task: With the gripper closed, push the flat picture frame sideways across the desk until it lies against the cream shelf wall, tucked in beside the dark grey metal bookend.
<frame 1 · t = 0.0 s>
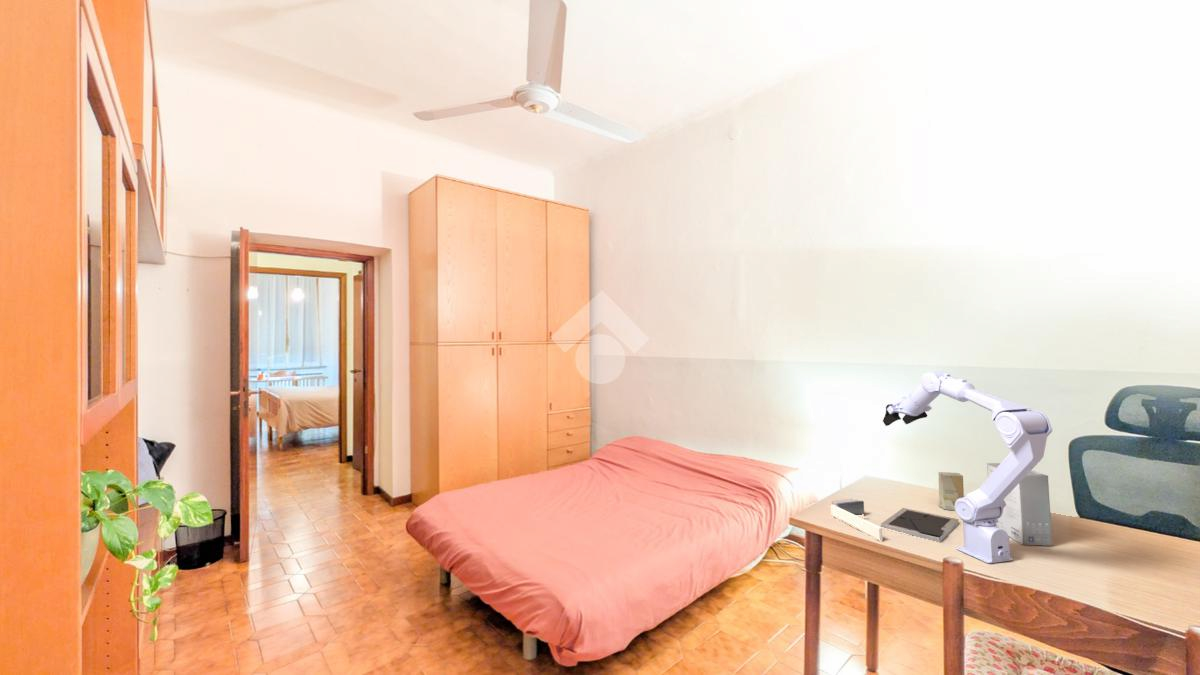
hand: (894, 422, 158), 32 cm above the table, tool tilted 50°, fingers open, 7 cm apart
bookend: (850, 517, 160), on the table
picture frame: (920, 528, 150), on the table
shelf wall: (855, 528, 151), on the table
hard drive box: (1019, 536, 140), on the table
books: (845, 515, 162), on the table
skincare box: (952, 509, 164), on the table
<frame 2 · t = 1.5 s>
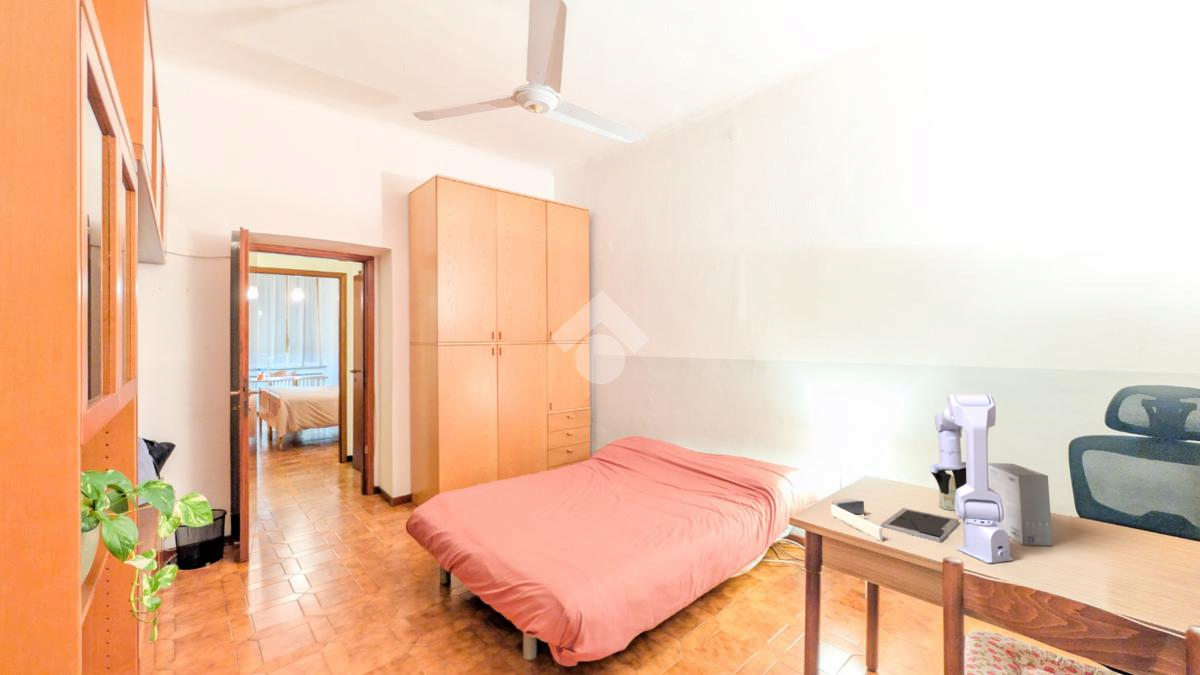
hand: (952, 492, 153), 9 cm above the table, tool pointing down, fingers open, 5 cm apart
nothing on the table moved.
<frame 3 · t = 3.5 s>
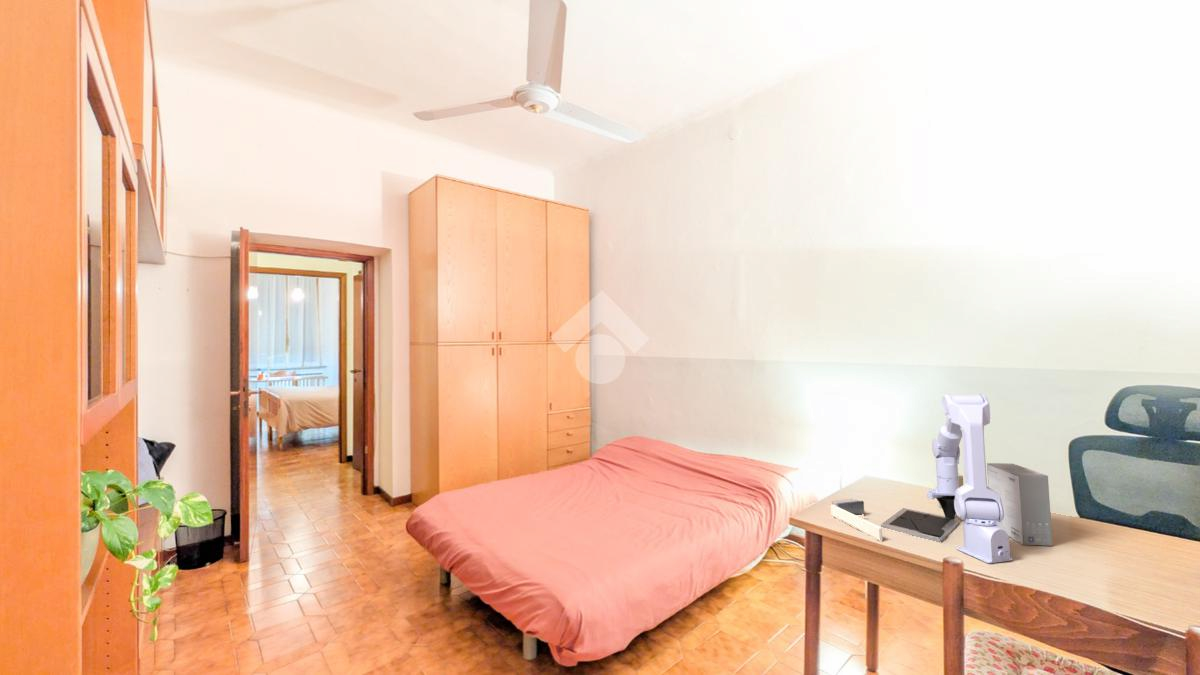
hand: (949, 518, 152), 1 cm above the table, tool pointing down, fingers closed
picture frame: (920, 528, 150), on the table, touching gripper
everything else where it was.
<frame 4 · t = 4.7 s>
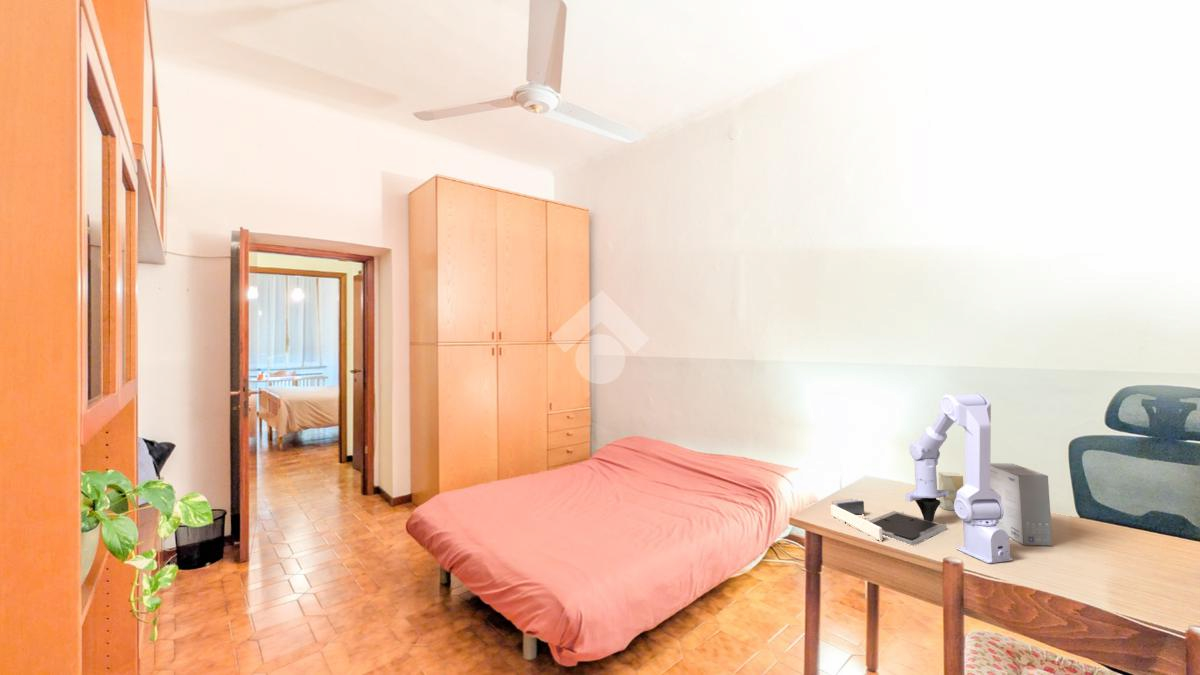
hand: (928, 521, 151), 1 cm above the table, tool pointing down, fingers closed
picture frame: (902, 531, 148), on the table, touching gripper
everything else where it was.
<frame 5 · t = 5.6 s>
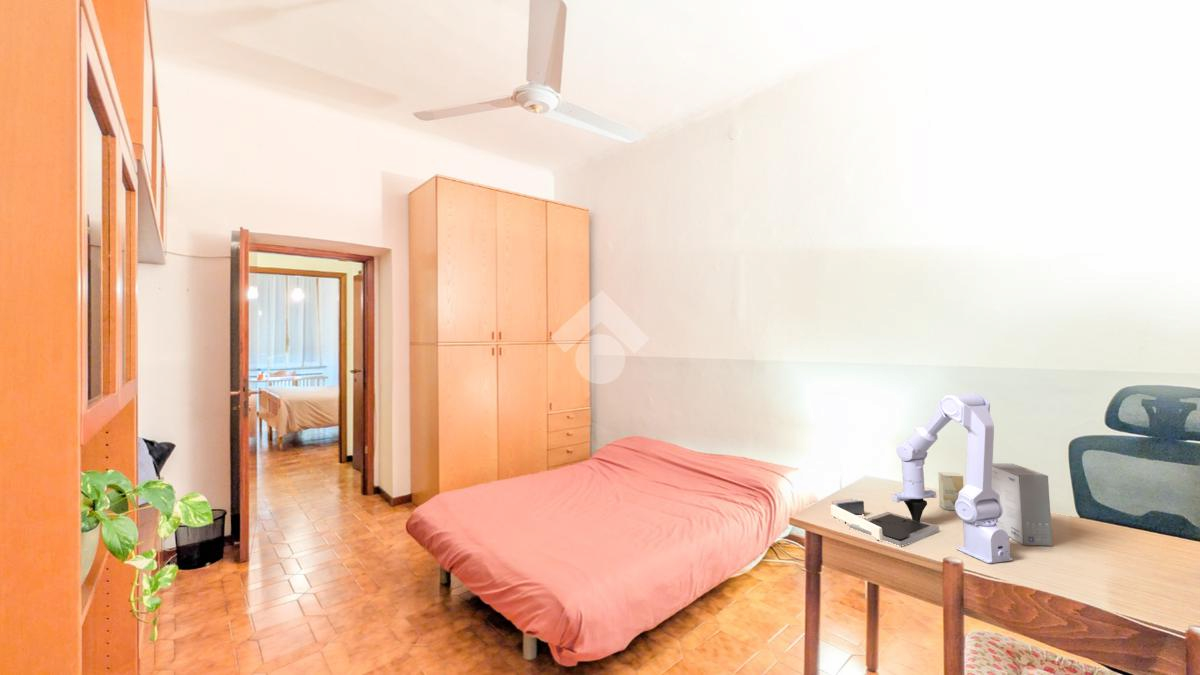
hand: (915, 522, 150), 1 cm above the table, tool pointing down, fingers closed, pressing on picture frame
picture frame: (893, 532, 147), on the table, touching gripper, shelf wall
everything else where it was.
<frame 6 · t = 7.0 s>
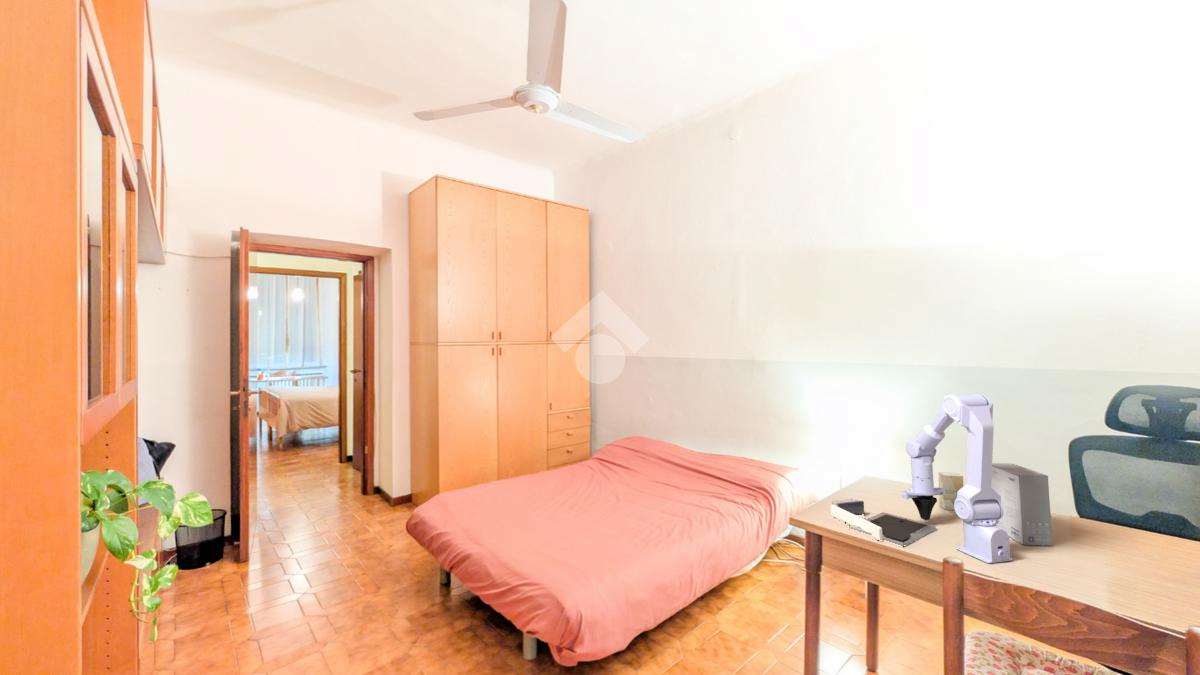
hand: (925, 519, 151), 2 cm above the table, tool pointing down, fingers closed
picture frame: (892, 533, 148), on the table
everything else where it was.
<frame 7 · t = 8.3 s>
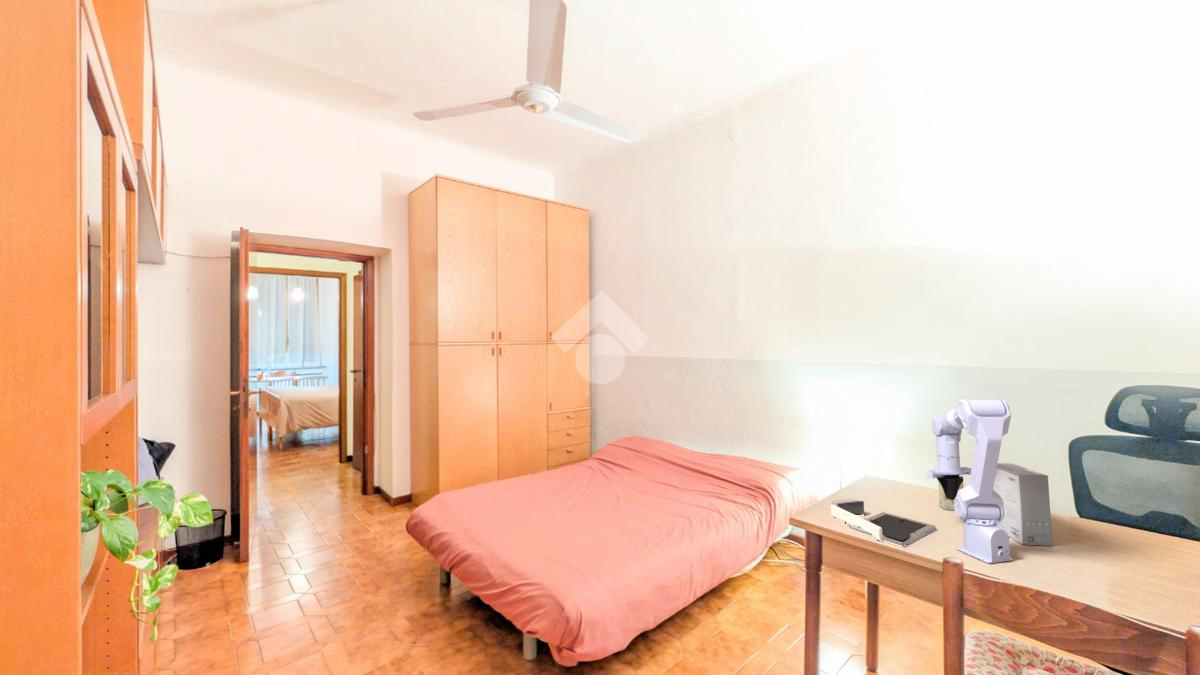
hand: (950, 499, 147), 9 cm above the table, tool pointing down, fingers closed
nothing on the table moved.
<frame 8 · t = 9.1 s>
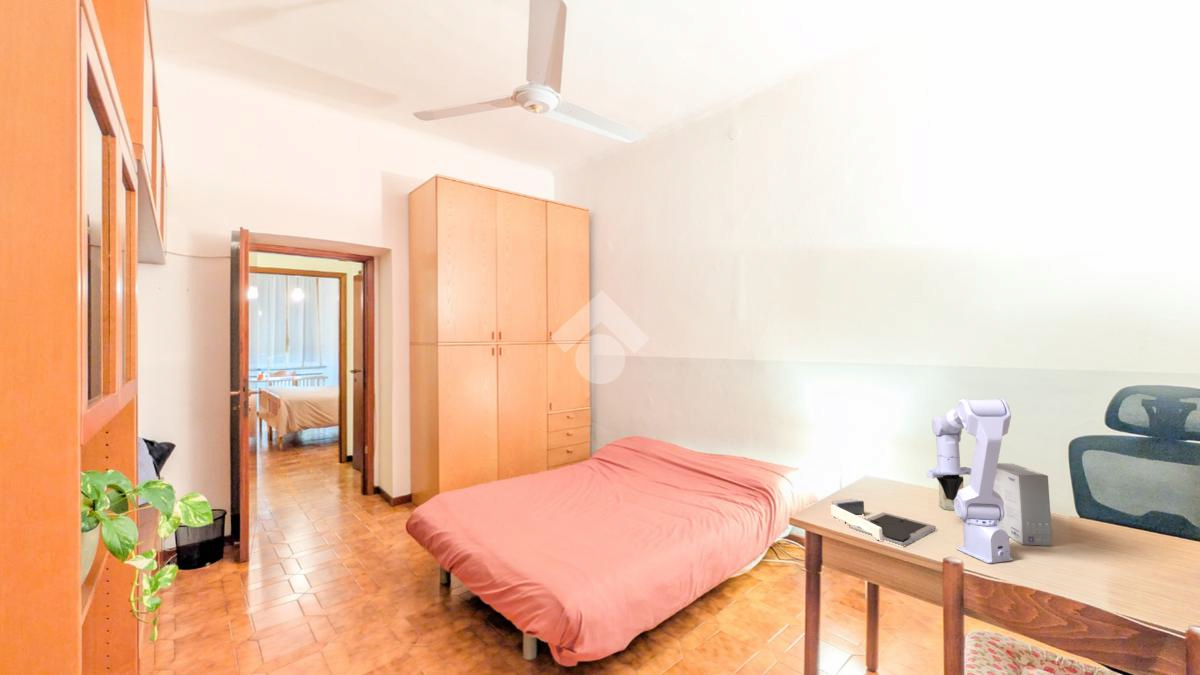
hand: (950, 499, 147), 9 cm above the table, tool pointing down, fingers closed
nothing on the table moved.
at the end: picture frame inside the target area (1.0 cm from its centre), on the table; picture frame tilted 0° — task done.
